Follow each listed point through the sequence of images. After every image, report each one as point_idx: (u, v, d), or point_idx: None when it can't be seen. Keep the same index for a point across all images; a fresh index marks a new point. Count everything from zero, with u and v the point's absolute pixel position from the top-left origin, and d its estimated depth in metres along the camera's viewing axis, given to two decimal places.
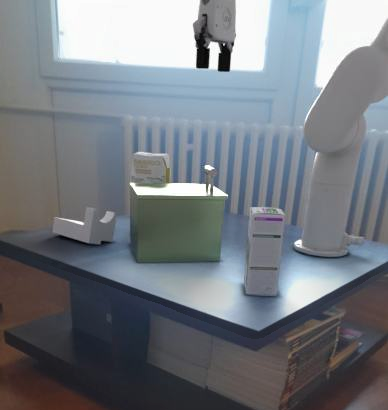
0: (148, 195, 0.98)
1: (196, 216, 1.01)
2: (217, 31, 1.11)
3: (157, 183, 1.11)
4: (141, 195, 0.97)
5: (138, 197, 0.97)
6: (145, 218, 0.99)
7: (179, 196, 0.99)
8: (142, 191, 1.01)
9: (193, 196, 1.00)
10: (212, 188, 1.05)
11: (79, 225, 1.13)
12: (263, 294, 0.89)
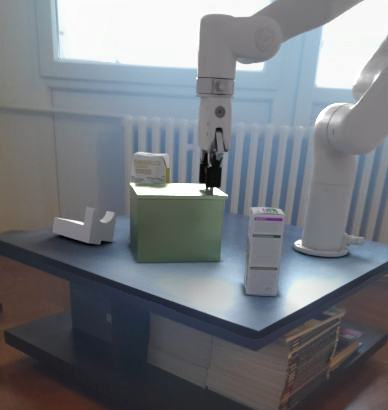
0: (148, 195, 0.98)
1: (196, 216, 1.01)
2: None
3: (157, 183, 1.11)
4: (141, 195, 0.97)
5: (138, 197, 0.97)
6: (145, 218, 0.99)
7: (179, 196, 0.99)
8: (142, 191, 1.01)
9: (193, 196, 1.00)
10: (212, 188, 1.05)
11: (79, 225, 1.13)
12: (263, 294, 0.89)
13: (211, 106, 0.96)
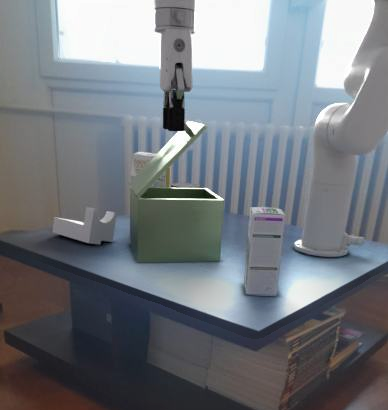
0: (144, 187, 0.97)
1: (196, 216, 1.01)
2: None
3: (148, 163, 1.09)
4: (139, 192, 0.97)
5: (138, 196, 0.97)
6: (145, 218, 0.99)
7: (167, 164, 0.96)
8: (138, 186, 1.00)
9: (177, 153, 0.95)
10: (188, 128, 0.98)
11: (79, 225, 1.13)
12: (263, 294, 0.89)
13: (169, 39, 0.89)
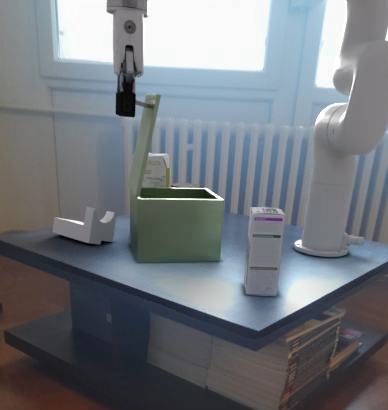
0: (138, 185, 0.96)
1: (196, 216, 1.01)
2: None
3: None
4: (137, 192, 0.97)
5: (138, 195, 0.97)
6: (145, 218, 0.99)
7: (146, 152, 0.94)
8: (134, 185, 1.00)
9: (149, 136, 0.93)
10: (147, 105, 0.95)
11: (79, 225, 1.13)
12: (263, 294, 0.89)
13: (119, 19, 0.86)
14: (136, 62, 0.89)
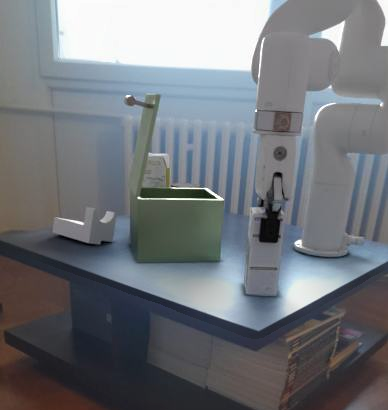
0: (138, 185, 0.96)
1: (196, 216, 1.01)
2: None
3: None
4: (137, 192, 0.97)
5: (138, 195, 0.97)
6: (145, 218, 0.99)
7: (146, 152, 0.94)
8: (134, 185, 1.00)
9: (149, 136, 0.93)
10: (147, 105, 0.95)
11: (79, 225, 1.13)
12: (263, 294, 0.89)
13: (269, 146, 0.76)
14: (284, 188, 0.78)
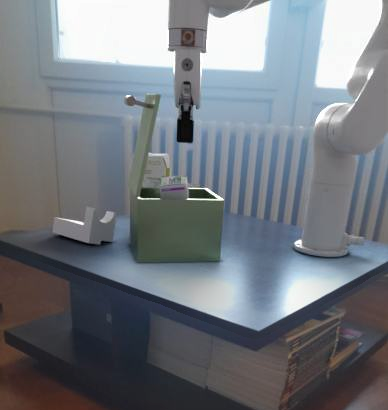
0: (138, 185, 0.96)
1: (196, 216, 1.01)
2: (200, 101, 0.95)
3: None
4: (137, 192, 0.97)
5: (138, 195, 0.97)
6: (145, 218, 0.99)
7: (146, 152, 0.94)
8: (134, 185, 1.00)
9: (149, 136, 0.93)
10: (147, 105, 0.95)
11: (79, 225, 1.13)
12: None
13: (177, 58, 0.91)
14: (193, 89, 0.93)
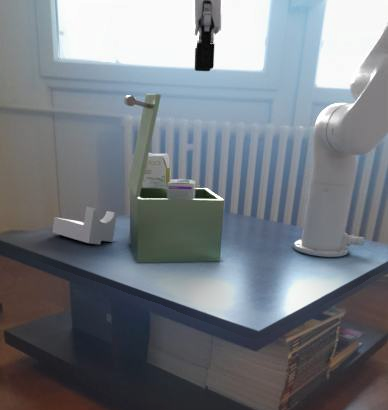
0: (138, 185, 0.96)
1: (196, 216, 1.01)
2: None
3: None
4: (137, 192, 0.97)
5: (138, 195, 0.97)
6: (145, 218, 0.99)
7: (146, 152, 0.94)
8: (134, 185, 1.00)
9: (149, 136, 0.93)
10: (147, 105, 0.95)
11: (79, 225, 1.13)
12: None
13: None
14: (214, 9, 0.89)
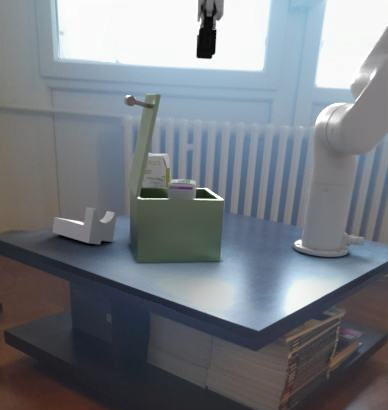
0: (138, 185, 0.96)
1: (196, 216, 1.01)
2: (223, 9, 0.90)
3: None
4: (137, 192, 0.97)
5: (138, 195, 0.97)
6: (145, 218, 0.99)
7: (146, 152, 0.94)
8: (134, 185, 1.00)
9: (149, 136, 0.93)
10: (147, 105, 0.95)
11: (79, 225, 1.13)
12: None
13: None
14: None
